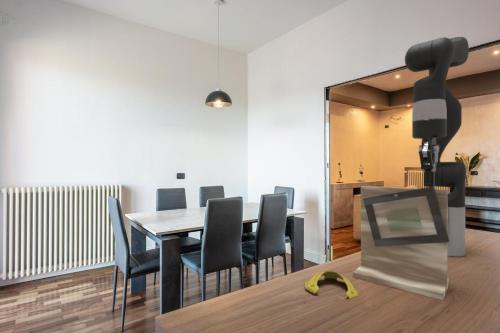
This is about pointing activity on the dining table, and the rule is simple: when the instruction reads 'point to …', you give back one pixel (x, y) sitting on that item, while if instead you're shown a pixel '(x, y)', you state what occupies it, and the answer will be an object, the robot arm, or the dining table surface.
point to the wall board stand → (404, 255)
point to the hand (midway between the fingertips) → (429, 186)
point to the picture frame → (406, 218)
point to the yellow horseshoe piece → (312, 283)
